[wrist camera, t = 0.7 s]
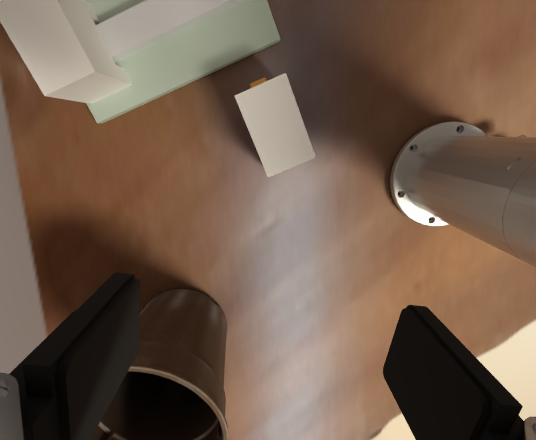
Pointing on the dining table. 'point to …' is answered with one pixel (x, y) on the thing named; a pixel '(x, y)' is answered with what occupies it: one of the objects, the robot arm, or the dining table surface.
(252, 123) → the block
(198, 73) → the din panel
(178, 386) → the plant pot
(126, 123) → the dining table surface
